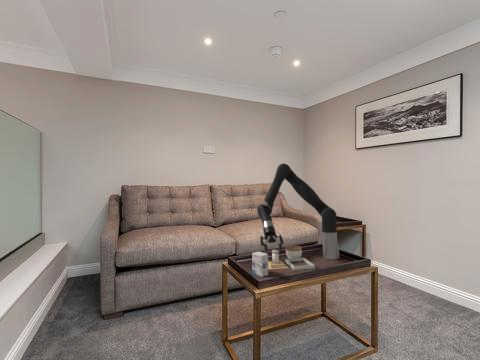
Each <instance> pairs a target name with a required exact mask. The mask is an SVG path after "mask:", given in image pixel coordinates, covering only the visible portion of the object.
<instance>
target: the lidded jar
mask: <svg viewBox="0 0 480 360" xmlns="http://www.w3.org/2000/svg"><path fill="white" fill-rule="evenodd" d="M302 253H303V247H302V246H300V245H294V244H292V245H288V246H285V254H286V257H287V259H291V258H302V255H303V254H302Z"/></svg>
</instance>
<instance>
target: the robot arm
mask: <svg viewBox="0 0 480 360" xmlns="http://www.w3.org/2000/svg"><path fill="white" fill-rule="evenodd" d="M285 180H286V181H287V182H288V183H289V184H290V185H291V186H292V188H293V189H294V191H295V193H296V194H297V195H298V196H299V197H301V198H302V199H303V200H304V201H305V202H306V203H307V204H308V205H310V206H311V207H312V208H314V210H315V211H316V212H317V214H318V215H320V217H321V239H322V240H321V242H322V258H323V259H325V260H330V261H331V260H332V261H333V260H334V261H335V260H338V259H340V245H339V243H338V231H337V230H338V218H337V212H336V210H335V209H333V208H332V207H330V206H329V205H327V203H325V202H324V201H323V200H322V199H321V198H320V196H319V195H318V193H316V192H315V190H314V189H313V188H312V187H311V186H310V185H309V184H308V183H307V182H305V180H303V179H301V178H300V177H299V176H298V175H297V174H296V173H295V172H294V171H293V169H292V168H291V166H290V165H288V164H287V163H280V164H279V165H278V166H277V168H276V172H275V175H274V177H273V180H272V183H271V185H270V186H269V188H268V189H267V190H268V191H267V193H266V194H265V197H264V202H265V203H267V204H266V205H265V204H261V203H260V204H258V205H257V208H256V210H257V215H258V217H259V218H260V220H261V225H262V230H263V235H264V236H263V235H260V237H259V239H260V240H259V241H260V246H261V247H264V251H265V252H268V251H269V249H268V244H275V245H277V246H278V250H279V252H281V251H282V250H283V245H284V240H283V237H282V235H281V234H279V235H277V233H276V228H275V224H274V223H273V220H272V219H273V218H272V217H271V214H272V212H273V207H274V203H275V200H276V198H277V197H278V195H279V191H280V188H281V187H282V185H283V182H284V181H285ZM264 240H265V241H264Z"/></svg>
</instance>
